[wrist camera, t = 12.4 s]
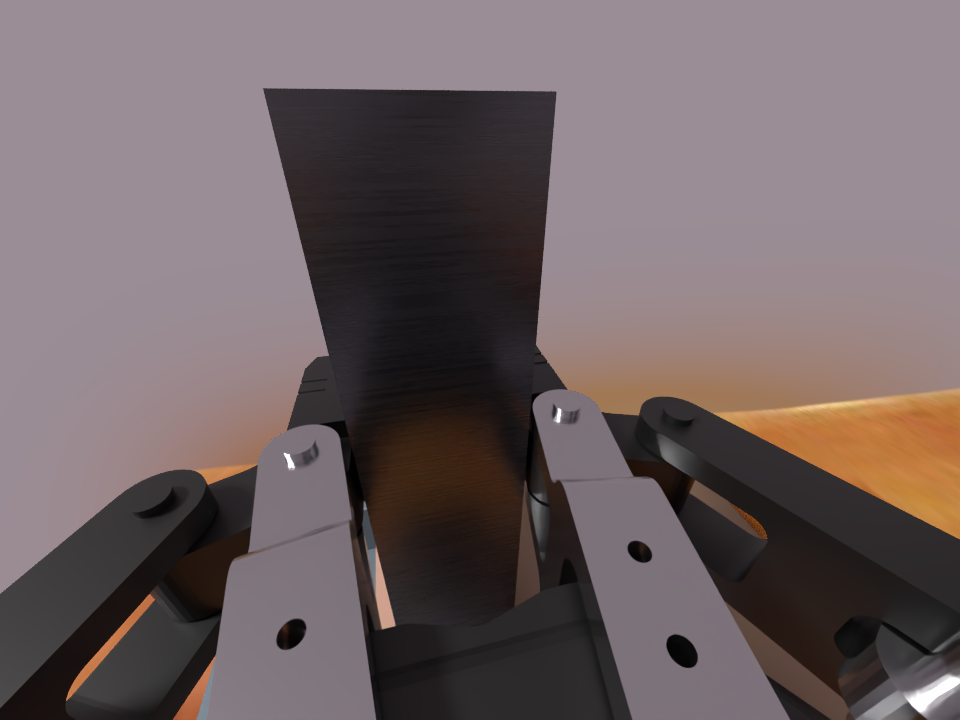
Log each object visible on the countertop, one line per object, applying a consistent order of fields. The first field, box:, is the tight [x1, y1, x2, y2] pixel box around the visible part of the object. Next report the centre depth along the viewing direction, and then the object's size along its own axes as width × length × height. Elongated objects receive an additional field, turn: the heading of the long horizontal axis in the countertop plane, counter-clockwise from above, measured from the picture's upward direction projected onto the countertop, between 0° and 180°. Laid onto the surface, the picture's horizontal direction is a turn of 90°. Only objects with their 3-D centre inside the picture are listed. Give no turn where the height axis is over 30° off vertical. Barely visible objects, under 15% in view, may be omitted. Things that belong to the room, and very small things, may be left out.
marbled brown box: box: [514, 480, 849, 720], centre depth 16 cm, size 12×16×6 cm
